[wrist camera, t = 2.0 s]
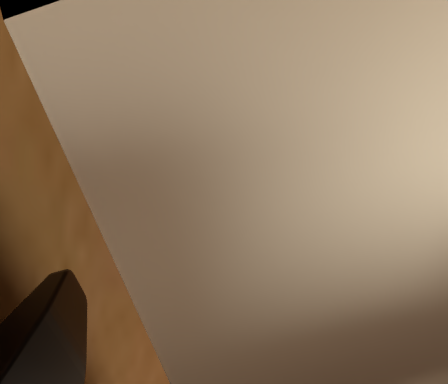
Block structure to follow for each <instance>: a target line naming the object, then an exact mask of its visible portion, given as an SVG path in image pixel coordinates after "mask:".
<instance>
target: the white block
mask: <svg viewBox="0 0 448 384" xmlns="http://www.w3.org/2000/svg"><path fill="white" fill-rule="evenodd" d="M0 8H1V12H2V16H3V20H4V22H5V24H6V27H7V29H8V31H9V33H10V35H11V37H12V40H13V42H14V44H15V46H16V48H17V51H18V53H19V55H20V57H21V59H22V61H23V64H24V66H25V68H26V70H27V72H28V75H29V77H30V79H31V81H32V83H33V85H34V88H35V90H36V92H37V94H38V96H39V98H40V101H41V103H42V105H43V107H44V109H45V112H46V114H47V116H48V118H49V120H50V122H51V125H52V127H53V129H54V131H55V133H56V136H57V138H58V140H59V142H60V144H61V146H62V149H63V151H64V153H65V155H66V157H67V160H68V162H69V164H70V166H71V168H72V170H73V173H74V175H75V177H76V179H77V181H78V183H79V186H80V188H81V190H82V192H83V194H84V197H85V199H86V201H87V203H88V205H89V207H90V210H91V212H92V214H93V216H94V218H95V221H96V223H97V225H98V227H99V229H100V231H101V234H102V236H103V238H104V240H105V242H106V245H107V247H108V249H109V251H110V253H111V255H112V258H113V260H114V262H115V264H116V266H117V268H118V271H119V273H120V275H121V277H122V279H123V282H124V284H125V286H126V288H127V290H128V292H129V295H130V297H131V299H132V301H133V303H134V306H135V308H136V310H137V312H138V314H139V316H140V319H141V321H142V323H143V325H144V327H145V330H146V332H147V334H148V336H149V338H150V340H151V343H152V345H153V347H154V349H155V351H156V353H157V356H158V358H159V360H160V362H161V364H162V367H163V369H164V371H165V373H166V375H167V377H168V380H169V382H170V384H448V0H0Z"/></svg>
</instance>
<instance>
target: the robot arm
mask: <svg viewBox="0 0 448 384" xmlns="http://www.w3.org/2000/svg"><path fill="white" fill-rule="evenodd" d="M86 353H87V299H86V296H85V293H84V292H83V290H82V288H81V286H80V284H79V282H78V281H77V279H76V277H75V275H74V273H73V272H72V271H71V270H68V269H66V270H62V271H58V272H54V273H51V274H50V275H48V276H47V277H46V278H45V279H44V281H43V282H42V283H41V284H40V285H39V286H38V287H37V288H36V289H35V290H34V291H33V292H32V293H31V294H30V295H29V296H28V297H27V298H26V299H25V300H24V301H23V302H22V303H21V304H20V305H19V306H18V307H17V308H16V309H15V310H14V311H13V312H12V313H11V314H10V315H9V316H8V317H7V318H6V319H5V320H4V321H3V322H2V323H1V324H0V384H84V382H85V373H86Z"/></svg>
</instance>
